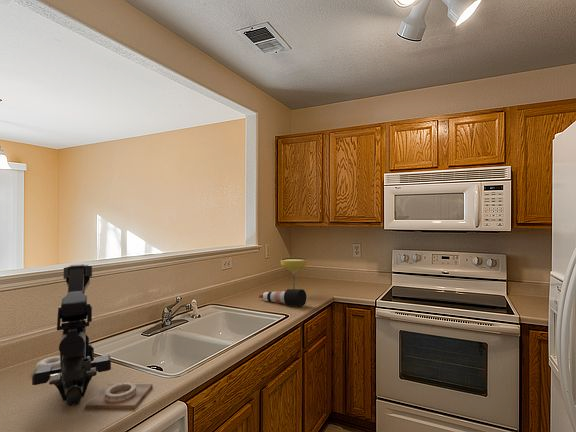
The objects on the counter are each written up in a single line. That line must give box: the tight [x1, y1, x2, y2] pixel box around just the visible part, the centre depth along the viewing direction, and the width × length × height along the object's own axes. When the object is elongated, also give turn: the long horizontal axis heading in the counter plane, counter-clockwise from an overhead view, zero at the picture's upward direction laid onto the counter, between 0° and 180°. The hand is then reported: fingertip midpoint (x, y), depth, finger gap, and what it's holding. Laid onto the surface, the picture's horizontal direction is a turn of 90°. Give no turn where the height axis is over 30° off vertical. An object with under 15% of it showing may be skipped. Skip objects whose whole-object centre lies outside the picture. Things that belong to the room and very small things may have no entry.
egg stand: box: [84, 381, 153, 410], centre depth 99 cm, size 12×14×2 cm
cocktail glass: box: [280, 257, 308, 289], centre depth 232 cm, size 18×18×25 cm
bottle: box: [258, 288, 307, 307], centre depth 210 cm, size 10×34×10 cm, turn 54°
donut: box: [34, 355, 61, 371], centre depth 118 cm, size 10×4×10 cm
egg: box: [65, 385, 83, 406], centre depth 96 cm, size 4×4×5 cm
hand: (73, 398), depth 96 cm, fingers closed on egg, 4 cm apart
